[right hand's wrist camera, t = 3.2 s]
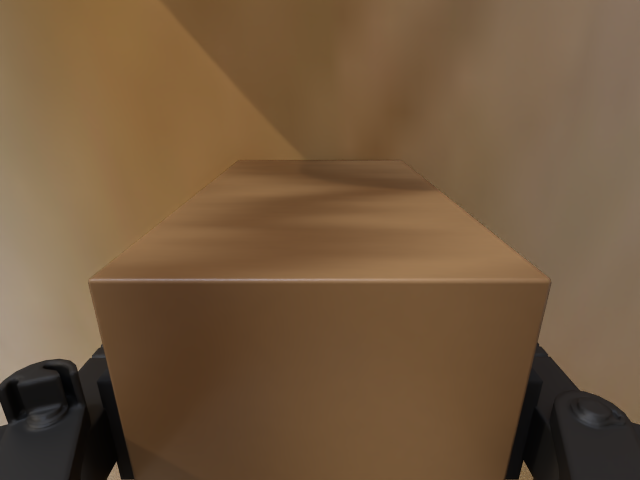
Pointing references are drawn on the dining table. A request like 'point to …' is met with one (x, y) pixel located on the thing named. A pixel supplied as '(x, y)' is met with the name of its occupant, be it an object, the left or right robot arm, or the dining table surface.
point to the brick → (319, 330)
